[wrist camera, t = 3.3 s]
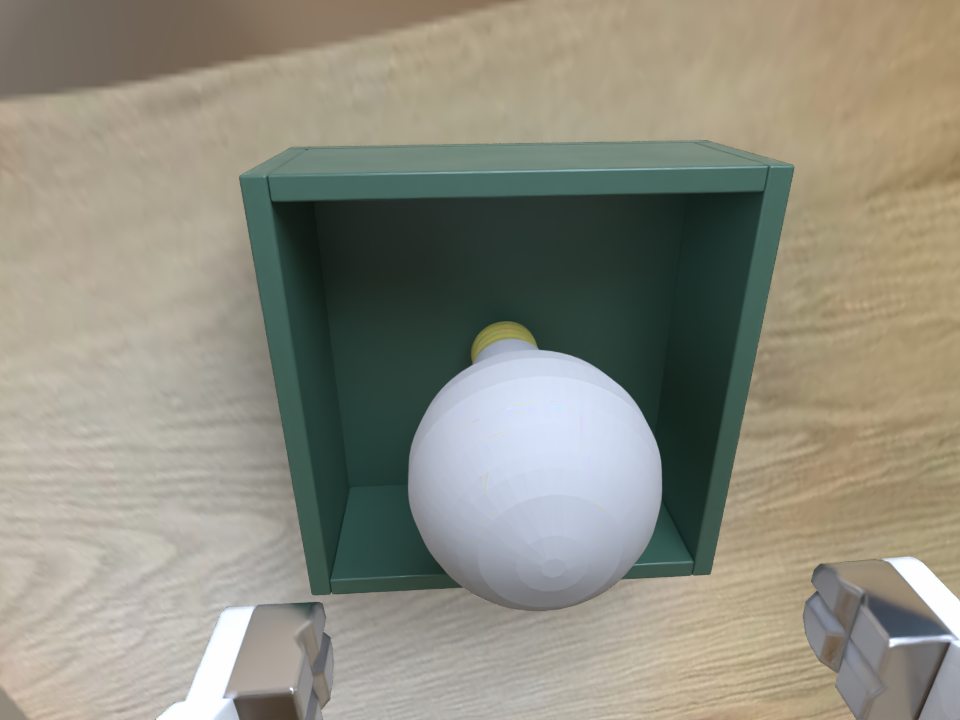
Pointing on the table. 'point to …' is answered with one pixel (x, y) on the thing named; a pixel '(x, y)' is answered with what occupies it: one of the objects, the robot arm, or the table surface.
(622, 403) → the light bulb
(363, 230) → the green open square box
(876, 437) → the table surface
